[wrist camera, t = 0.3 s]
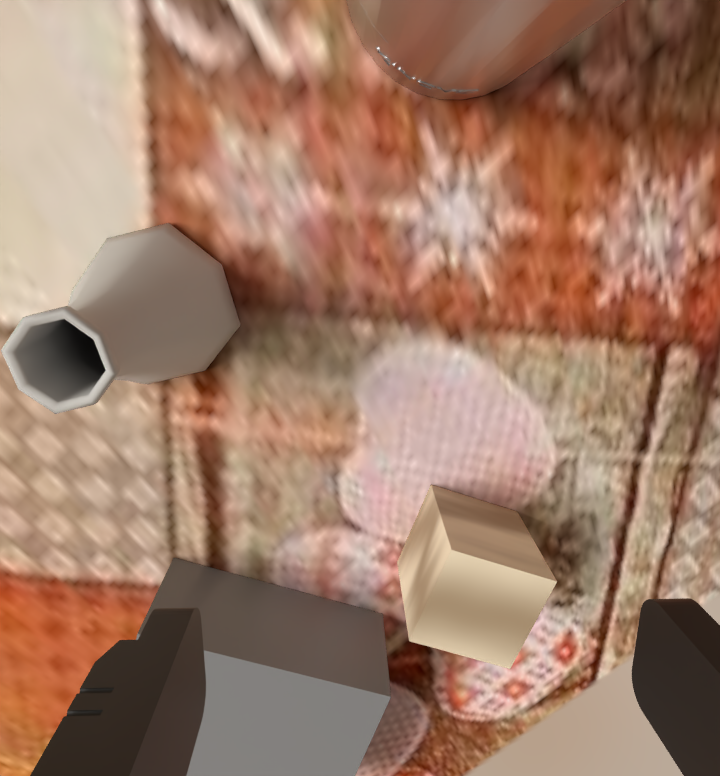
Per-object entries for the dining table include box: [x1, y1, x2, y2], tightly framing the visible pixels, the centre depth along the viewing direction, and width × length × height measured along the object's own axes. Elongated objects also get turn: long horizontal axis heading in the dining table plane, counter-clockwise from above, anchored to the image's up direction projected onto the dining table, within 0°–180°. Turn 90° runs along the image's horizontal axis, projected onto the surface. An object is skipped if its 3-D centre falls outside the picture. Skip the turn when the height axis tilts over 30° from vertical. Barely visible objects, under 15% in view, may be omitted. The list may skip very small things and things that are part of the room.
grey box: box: [136, 558, 391, 776], centre depth 31 cm, size 12×12×6 cm
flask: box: [1, 223, 240, 414], centre depth 22 cm, size 7×7×10 cm
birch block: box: [397, 485, 557, 669], centre depth 28 cm, size 5×5×6 cm
